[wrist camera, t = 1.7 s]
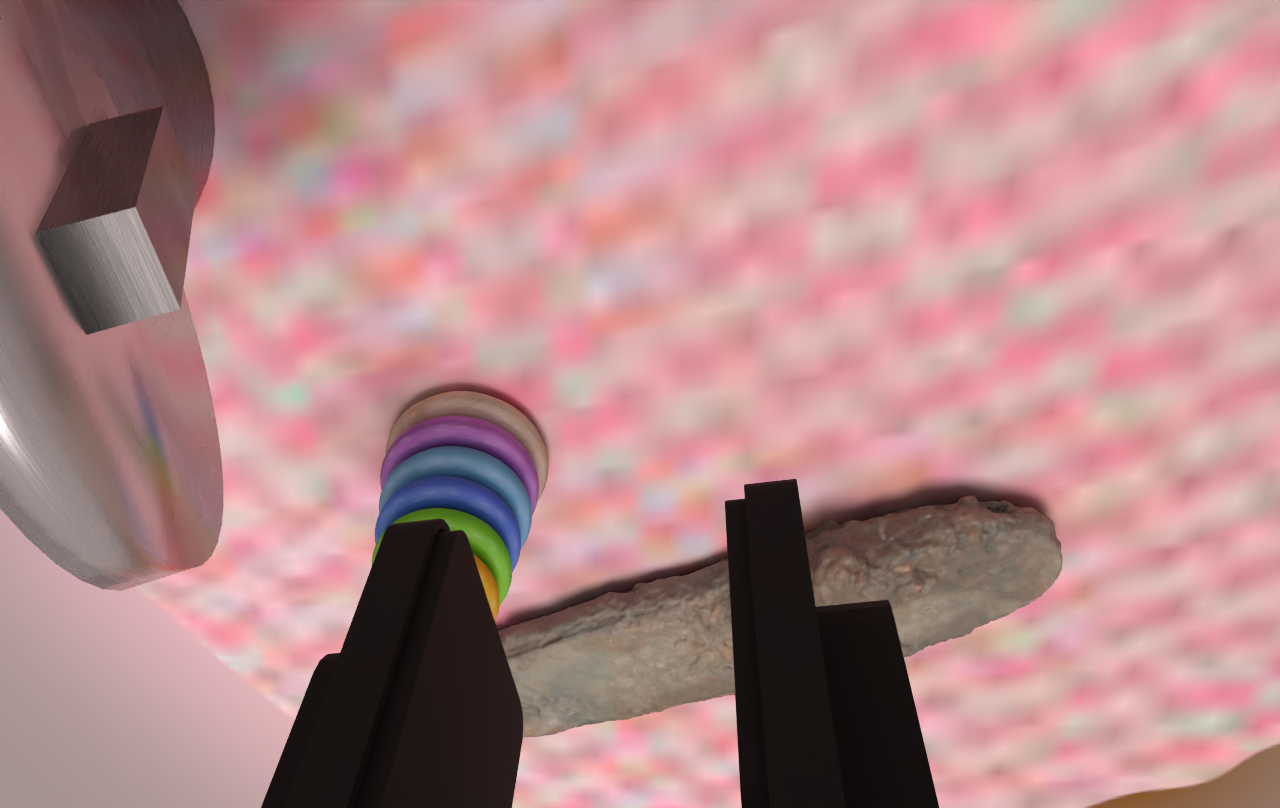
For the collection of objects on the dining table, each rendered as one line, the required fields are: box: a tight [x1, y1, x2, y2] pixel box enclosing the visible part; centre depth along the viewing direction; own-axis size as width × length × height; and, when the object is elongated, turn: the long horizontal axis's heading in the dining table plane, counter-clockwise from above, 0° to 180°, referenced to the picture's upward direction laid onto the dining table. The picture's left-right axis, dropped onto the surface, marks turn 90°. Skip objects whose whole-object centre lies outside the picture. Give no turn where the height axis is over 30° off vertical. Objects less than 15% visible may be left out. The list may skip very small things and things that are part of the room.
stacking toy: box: [372, 391, 548, 620], centre depth 46 cm, size 8×8×19 cm
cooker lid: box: [0, 0, 223, 590], centre depth 26 cm, size 18×18×4 cm
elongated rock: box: [498, 496, 1062, 737], centre depth 57 cm, size 35×5×10 cm
